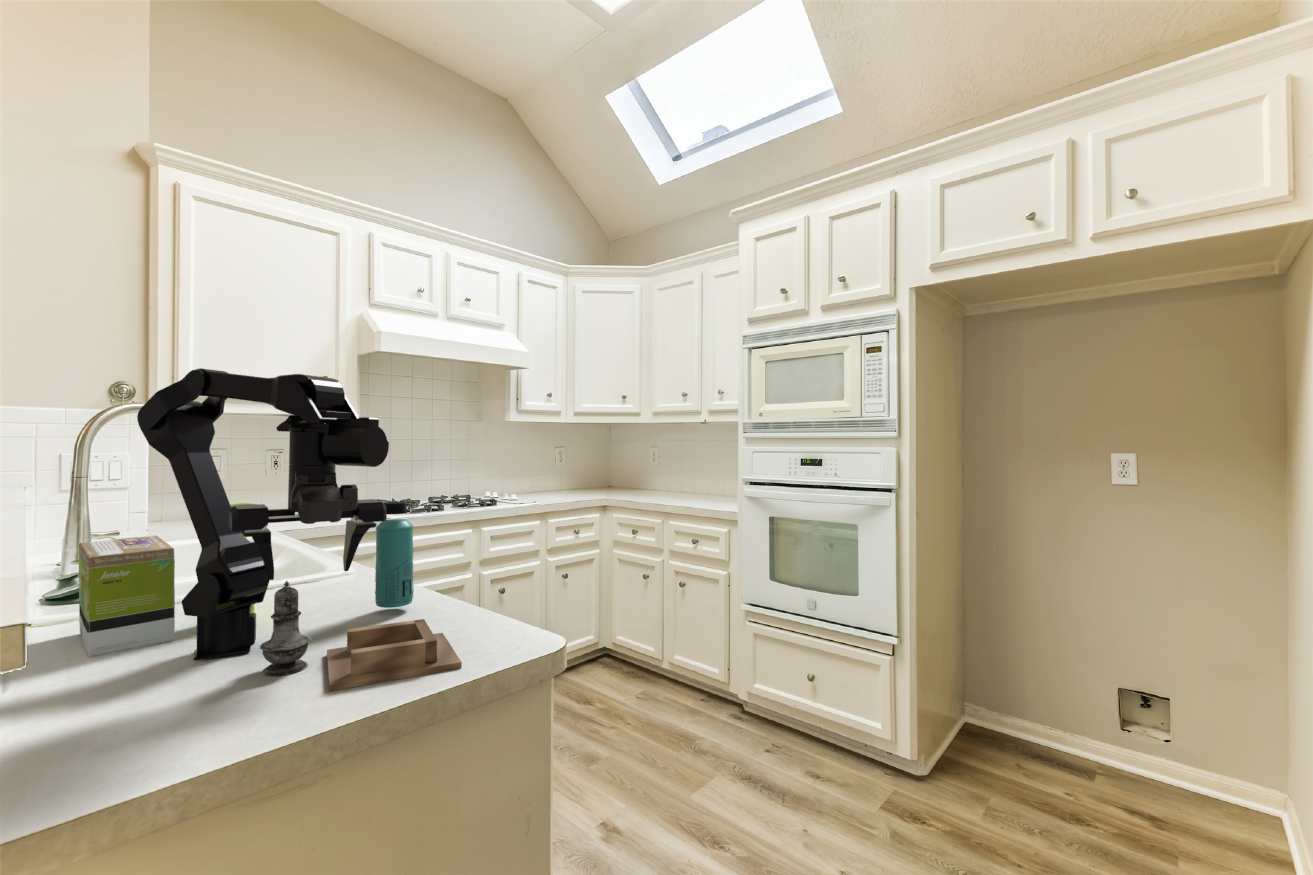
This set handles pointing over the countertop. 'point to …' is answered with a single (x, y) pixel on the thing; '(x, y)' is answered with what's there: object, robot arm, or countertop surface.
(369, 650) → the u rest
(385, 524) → the beverage bottle
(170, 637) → the tea box
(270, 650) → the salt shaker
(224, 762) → the countertop surface
